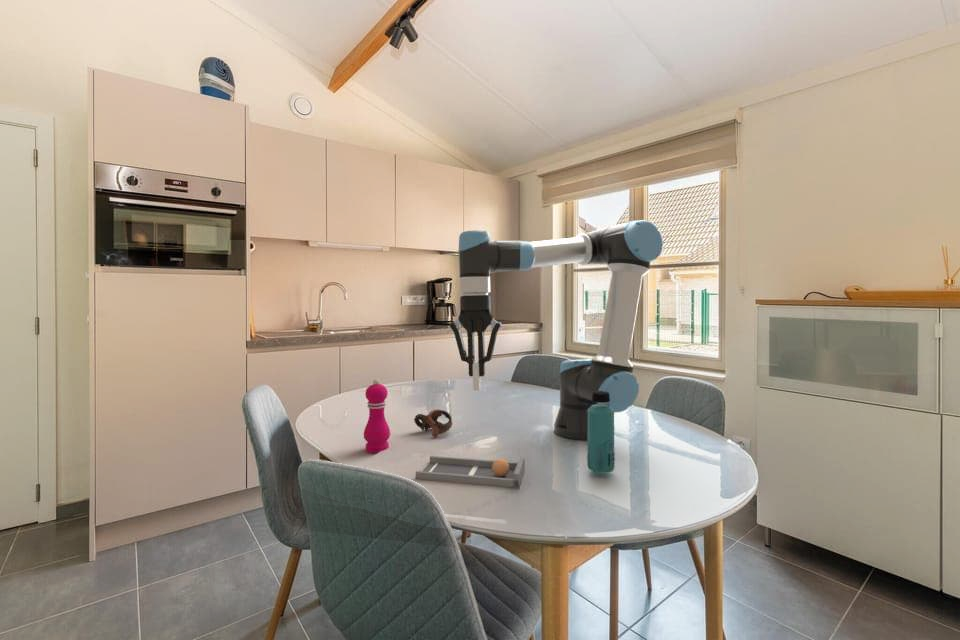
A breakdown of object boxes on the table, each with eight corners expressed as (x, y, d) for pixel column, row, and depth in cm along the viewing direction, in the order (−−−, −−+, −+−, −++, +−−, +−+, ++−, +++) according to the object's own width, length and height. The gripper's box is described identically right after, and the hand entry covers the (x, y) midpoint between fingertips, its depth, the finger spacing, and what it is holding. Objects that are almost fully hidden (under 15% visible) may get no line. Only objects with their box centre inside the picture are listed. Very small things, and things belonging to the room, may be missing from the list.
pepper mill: (367, 455, 120) (366, 382, 119) (361, 447, 127) (360, 377, 126) (393, 451, 124) (392, 379, 123) (386, 444, 130) (385, 375, 129)
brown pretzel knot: (449, 428, 147) (455, 410, 143) (446, 450, 139) (452, 431, 135) (413, 420, 146) (418, 401, 142) (408, 441, 138) (413, 421, 134)
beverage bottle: (610, 482, 103) (611, 395, 102) (582, 475, 107) (583, 392, 106) (617, 472, 109) (619, 390, 108) (591, 467, 112) (592, 387, 111)
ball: (508, 474, 107) (511, 458, 106) (506, 481, 103) (509, 465, 103) (492, 470, 108) (495, 454, 107) (489, 476, 104) (492, 460, 103)
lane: (524, 471, 110) (524, 456, 109) (518, 490, 99) (519, 474, 99) (430, 463, 115) (430, 449, 114) (415, 480, 104) (415, 465, 104)
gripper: (503, 294, 113) (504, 386, 114) (452, 295, 115) (455, 385, 117) (499, 294, 106) (501, 393, 107) (445, 295, 108) (448, 392, 109)
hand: (477, 389), depth 112 cm, fingers closed
